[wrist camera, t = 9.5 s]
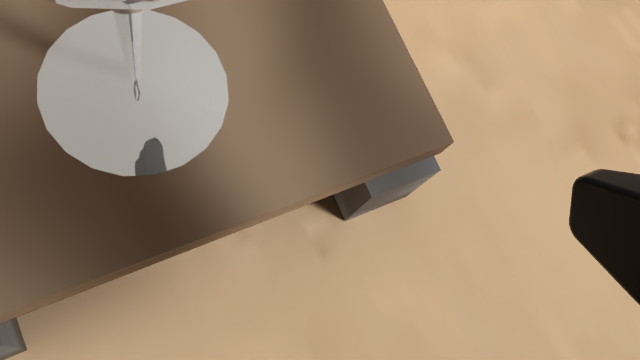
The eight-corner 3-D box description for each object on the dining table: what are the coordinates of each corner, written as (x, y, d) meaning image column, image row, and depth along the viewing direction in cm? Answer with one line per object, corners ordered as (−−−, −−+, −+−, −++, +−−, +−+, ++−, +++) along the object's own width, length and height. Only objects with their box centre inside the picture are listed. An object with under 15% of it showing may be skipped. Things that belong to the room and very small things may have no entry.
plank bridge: (300, -38, 24) (324, -114, 20) (412, 193, 22) (461, 156, 18) (-171, 76, 19) (-256, 2, 15) (-78, 392, 17) (-148, 396, 13)
